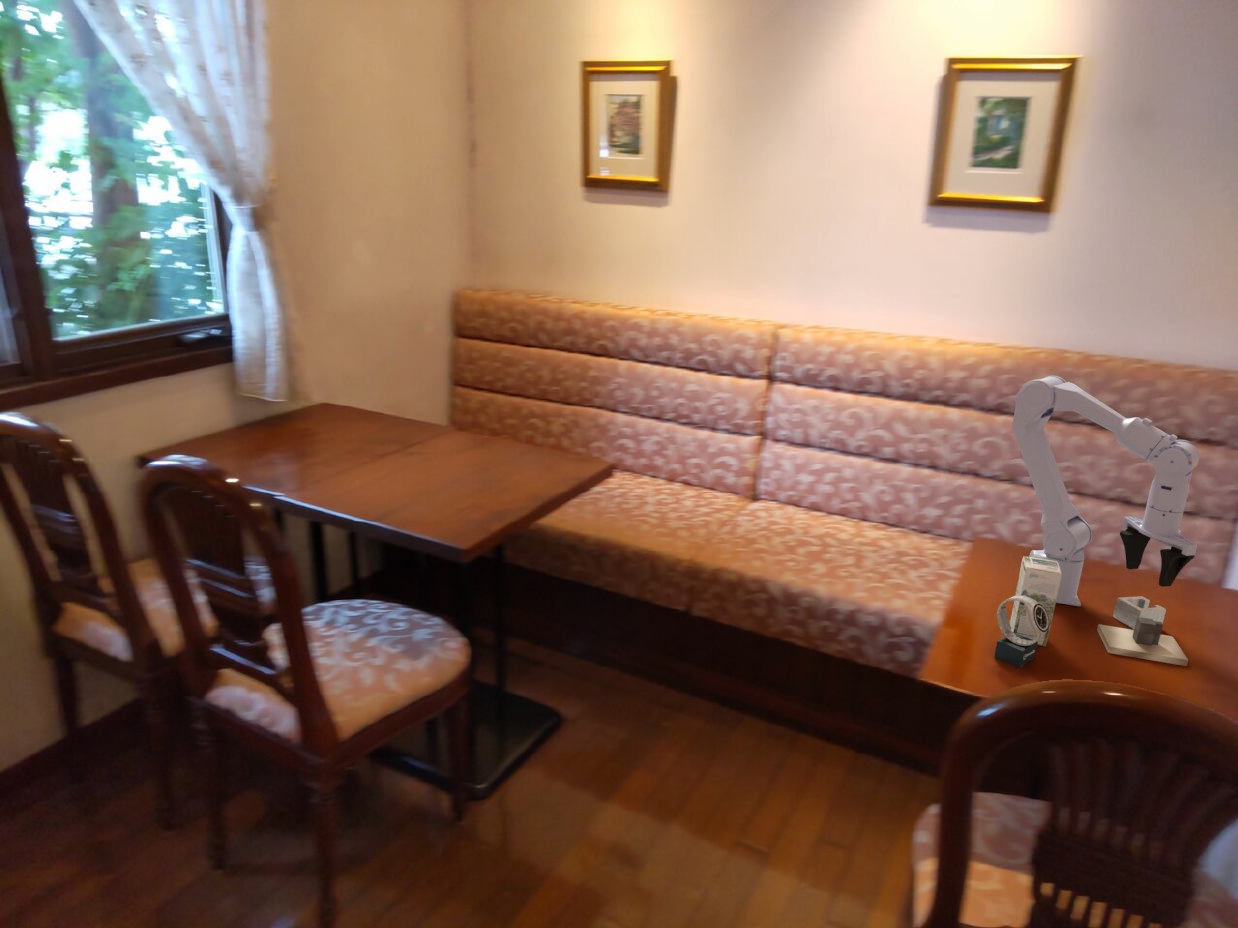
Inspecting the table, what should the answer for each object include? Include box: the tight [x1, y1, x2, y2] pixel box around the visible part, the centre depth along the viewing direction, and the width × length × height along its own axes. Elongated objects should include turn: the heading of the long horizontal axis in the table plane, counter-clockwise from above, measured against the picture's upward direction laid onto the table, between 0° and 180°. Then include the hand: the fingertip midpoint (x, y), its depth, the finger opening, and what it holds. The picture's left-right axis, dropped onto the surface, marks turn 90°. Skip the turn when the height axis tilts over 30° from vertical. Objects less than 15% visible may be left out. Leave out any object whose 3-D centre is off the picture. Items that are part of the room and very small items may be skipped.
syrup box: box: [1009, 555, 1062, 647], centre depth 150 cm, size 6×6×14 cm
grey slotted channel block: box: [1112, 595, 1167, 630], centre depth 159 cm, size 6×6×4 cm
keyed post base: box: [1096, 617, 1189, 667], centre depth 150 cm, size 12×9×5 cm
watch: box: [993, 595, 1049, 669], centre depth 143 cm, size 6×8×11 cm
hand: (1148, 576), depth 157 cm, fingers open, 7 cm apart
